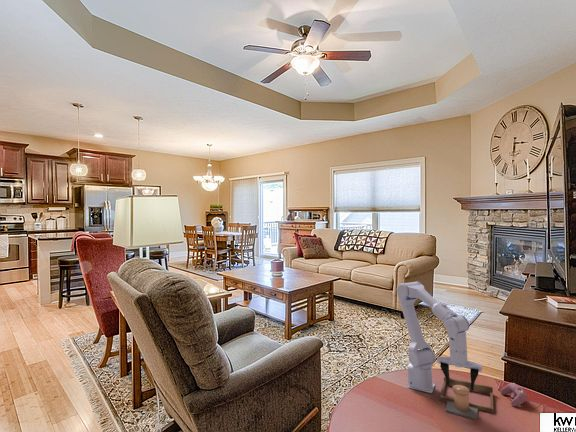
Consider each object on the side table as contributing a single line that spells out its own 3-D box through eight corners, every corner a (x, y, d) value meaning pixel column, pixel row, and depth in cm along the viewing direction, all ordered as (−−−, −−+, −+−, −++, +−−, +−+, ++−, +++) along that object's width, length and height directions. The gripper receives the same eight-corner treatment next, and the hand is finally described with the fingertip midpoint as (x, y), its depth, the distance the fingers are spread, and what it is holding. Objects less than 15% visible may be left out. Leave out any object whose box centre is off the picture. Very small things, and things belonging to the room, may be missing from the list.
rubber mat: (445, 411, 113) (445, 409, 113) (447, 402, 119) (447, 400, 119) (477, 420, 108) (477, 418, 108) (477, 409, 114) (477, 408, 114)
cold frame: (439, 400, 121) (439, 392, 121) (444, 383, 133) (443, 376, 133) (493, 413, 111) (492, 404, 111) (493, 394, 124) (492, 386, 124)
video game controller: (523, 412, 114) (532, 395, 114) (510, 405, 115) (519, 389, 114) (509, 397, 124) (517, 382, 123) (498, 391, 124) (505, 376, 124)
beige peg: (452, 409, 114) (451, 389, 114) (454, 402, 118) (453, 383, 118) (469, 413, 111) (468, 393, 111) (471, 406, 115) (469, 387, 115)
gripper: (435, 349, 115) (437, 386, 115) (480, 357, 107) (483, 396, 107) (437, 343, 121) (439, 378, 121) (481, 350, 113) (483, 387, 113)
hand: (460, 386), depth 114 cm, fingers open, 7 cm apart
